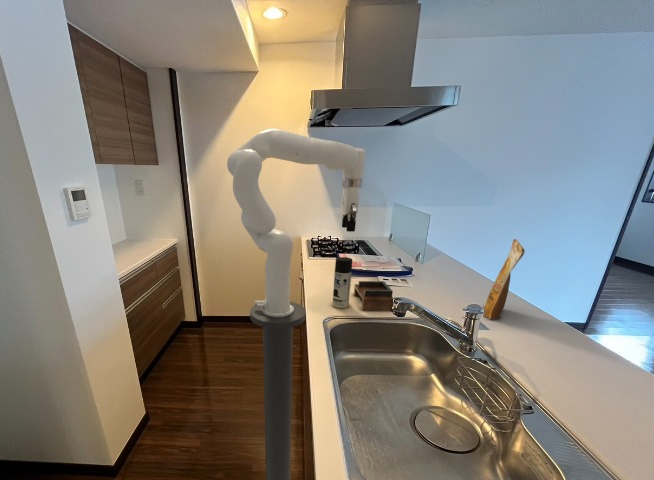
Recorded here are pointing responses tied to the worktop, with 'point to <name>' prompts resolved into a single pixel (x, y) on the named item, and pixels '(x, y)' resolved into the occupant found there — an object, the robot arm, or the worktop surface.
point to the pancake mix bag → (503, 283)
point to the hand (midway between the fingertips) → (348, 229)
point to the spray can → (342, 282)
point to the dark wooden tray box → (374, 295)
